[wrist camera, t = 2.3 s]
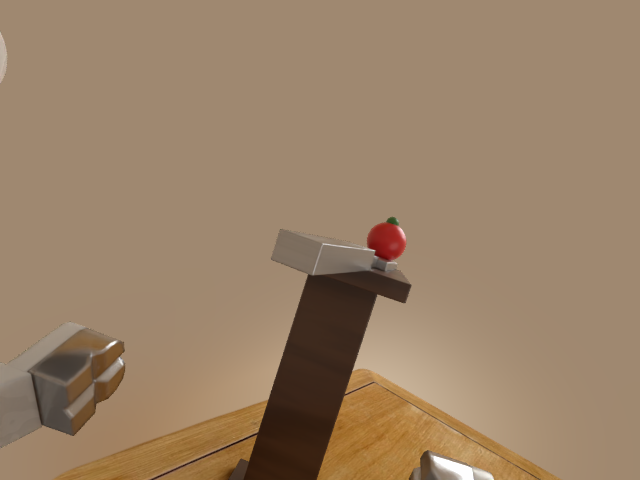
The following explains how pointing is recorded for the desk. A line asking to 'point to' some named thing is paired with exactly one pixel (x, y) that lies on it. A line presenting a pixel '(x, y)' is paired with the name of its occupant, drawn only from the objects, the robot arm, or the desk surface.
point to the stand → (316, 372)
